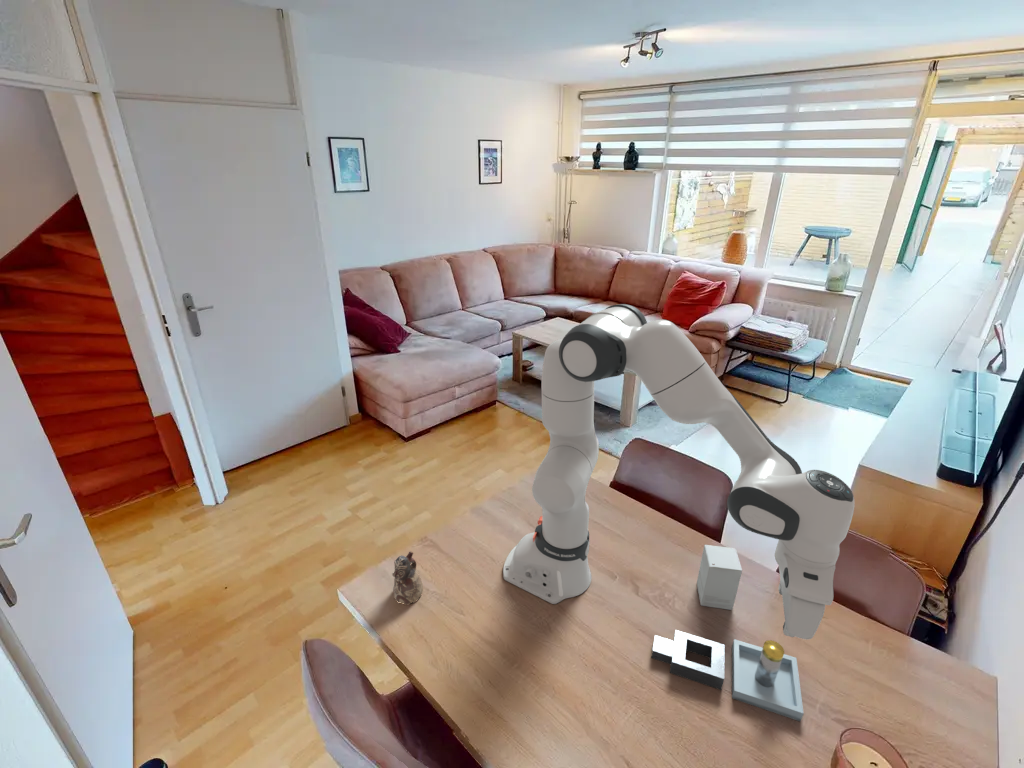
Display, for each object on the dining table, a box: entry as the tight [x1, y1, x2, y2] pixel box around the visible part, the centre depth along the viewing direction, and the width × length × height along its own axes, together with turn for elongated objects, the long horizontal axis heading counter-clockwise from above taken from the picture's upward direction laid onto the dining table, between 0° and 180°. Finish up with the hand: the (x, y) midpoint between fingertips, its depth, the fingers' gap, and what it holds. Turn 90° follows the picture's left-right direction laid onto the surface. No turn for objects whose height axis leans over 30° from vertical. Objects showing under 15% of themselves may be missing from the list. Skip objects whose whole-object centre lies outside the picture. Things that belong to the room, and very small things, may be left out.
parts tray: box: [731, 638, 804, 722], centre depth 100 cm, size 12×12×2 cm
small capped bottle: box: [755, 639, 785, 687], centre depth 98 cm, size 4×4×9 cm
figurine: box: [391, 550, 424, 604], centre depth 119 cm, size 7×7×12 cm
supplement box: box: [696, 544, 743, 611], centre depth 117 cm, size 7×7×13 cm
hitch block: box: [651, 629, 726, 691], centre depth 104 cm, size 14×8×4 cm, turn 68°
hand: (785, 611), depth 92 cm, fingers open, 8 cm apart
